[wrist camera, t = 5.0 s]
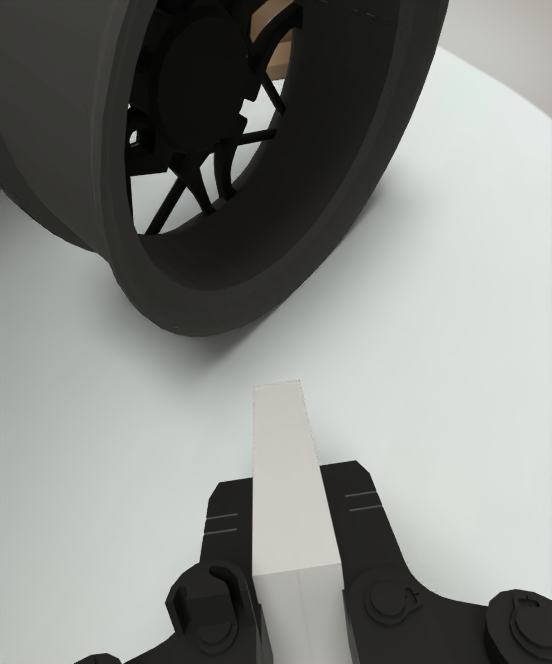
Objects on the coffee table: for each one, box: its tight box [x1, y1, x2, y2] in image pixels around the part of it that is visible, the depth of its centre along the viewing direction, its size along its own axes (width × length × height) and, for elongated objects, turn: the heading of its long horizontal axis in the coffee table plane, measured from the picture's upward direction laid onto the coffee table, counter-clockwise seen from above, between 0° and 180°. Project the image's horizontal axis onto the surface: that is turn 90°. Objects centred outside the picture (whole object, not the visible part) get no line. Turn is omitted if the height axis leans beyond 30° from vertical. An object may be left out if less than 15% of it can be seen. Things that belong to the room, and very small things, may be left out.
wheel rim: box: [0, 0, 449, 337], centre depth 18 cm, size 20×9×20 cm, turn 138°
